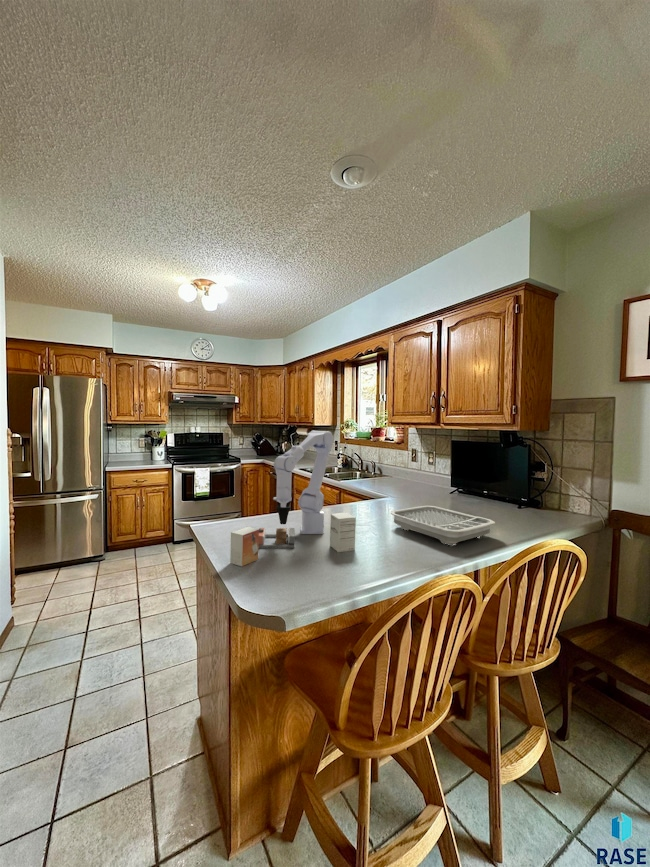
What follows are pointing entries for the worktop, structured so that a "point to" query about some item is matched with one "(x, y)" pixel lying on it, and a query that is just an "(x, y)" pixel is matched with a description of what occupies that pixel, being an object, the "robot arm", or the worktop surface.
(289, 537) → the vise body
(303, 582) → the worktop surface
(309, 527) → the robot arm
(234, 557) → the small box
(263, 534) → the free jaw
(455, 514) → the dish rack
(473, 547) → the worktop surface
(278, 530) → the walnut block
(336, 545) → the supplement box
